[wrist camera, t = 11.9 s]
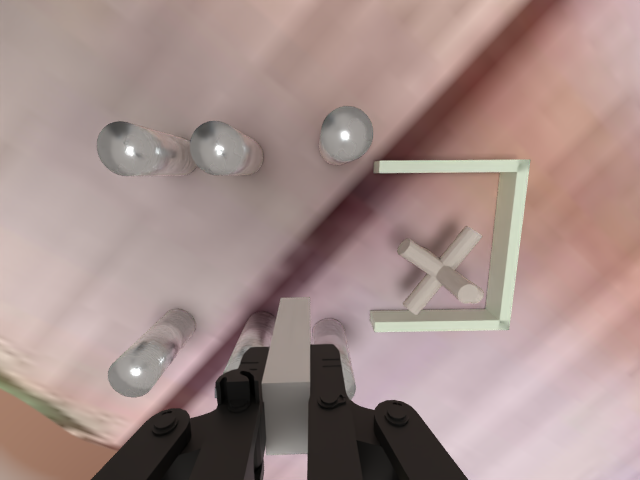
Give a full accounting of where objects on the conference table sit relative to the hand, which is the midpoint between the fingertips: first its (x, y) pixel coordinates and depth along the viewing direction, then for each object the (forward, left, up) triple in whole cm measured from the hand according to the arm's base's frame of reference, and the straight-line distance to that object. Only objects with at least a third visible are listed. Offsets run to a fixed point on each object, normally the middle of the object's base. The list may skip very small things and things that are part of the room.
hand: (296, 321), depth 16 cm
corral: (+1, +15, -20) cm, 25 cm away
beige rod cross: (+2, +13, -20) cm, 24 cm away
